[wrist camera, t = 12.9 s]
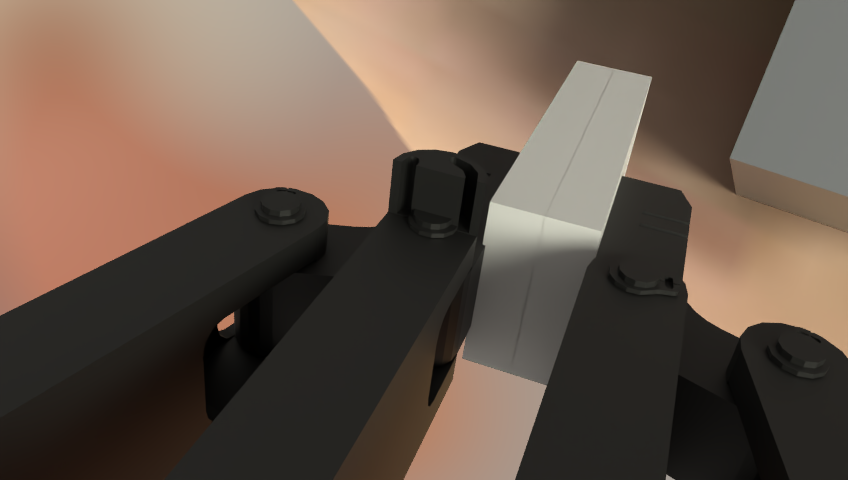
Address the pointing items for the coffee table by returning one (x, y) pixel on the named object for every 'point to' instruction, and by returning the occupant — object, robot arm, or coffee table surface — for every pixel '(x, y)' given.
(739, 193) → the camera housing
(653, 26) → the coffee table surface
